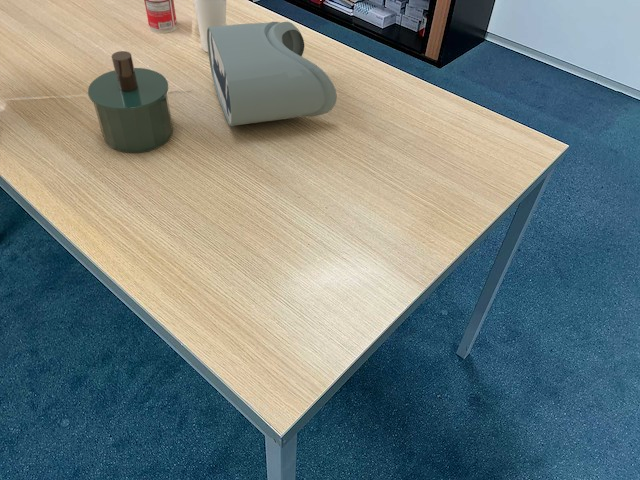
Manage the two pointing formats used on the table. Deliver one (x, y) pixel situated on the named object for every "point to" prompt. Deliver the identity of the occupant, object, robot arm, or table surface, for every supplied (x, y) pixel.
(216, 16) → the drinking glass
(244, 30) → the gray curved housing
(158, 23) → the pill bottle
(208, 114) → the table surface
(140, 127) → the pot
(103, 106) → the lid
